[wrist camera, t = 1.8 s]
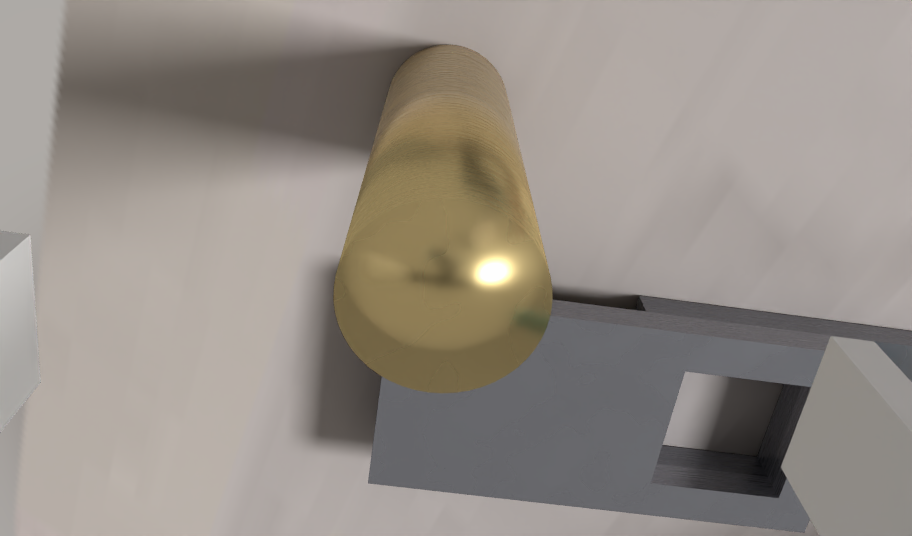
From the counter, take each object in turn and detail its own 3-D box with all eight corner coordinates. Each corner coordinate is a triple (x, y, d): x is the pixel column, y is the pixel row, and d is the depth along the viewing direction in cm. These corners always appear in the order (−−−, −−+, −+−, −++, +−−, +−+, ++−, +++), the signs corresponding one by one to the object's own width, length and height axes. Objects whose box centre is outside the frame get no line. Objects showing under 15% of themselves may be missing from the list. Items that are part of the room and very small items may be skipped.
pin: (394, 35, 27) (343, 184, 14) (517, 54, 27) (573, 215, 15) (380, 154, 29) (325, 379, 16) (496, 170, 29) (530, 404, 16)
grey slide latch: (396, 263, 31) (384, 349, 25) (1073, 352, 32) (1198, 450, 27) (373, 442, 34) (358, 551, 28) (987, 513, 36) (1082, 629, 30)
